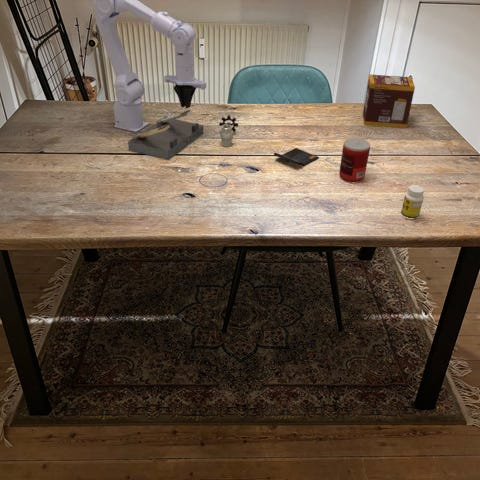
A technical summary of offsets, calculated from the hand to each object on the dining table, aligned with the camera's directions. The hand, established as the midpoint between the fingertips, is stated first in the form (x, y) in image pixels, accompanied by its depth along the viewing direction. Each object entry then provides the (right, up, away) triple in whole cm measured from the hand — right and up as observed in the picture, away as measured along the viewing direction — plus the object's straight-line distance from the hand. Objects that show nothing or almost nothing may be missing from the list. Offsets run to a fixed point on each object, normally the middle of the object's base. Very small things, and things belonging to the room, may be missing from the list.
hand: (185, 106), depth 176 cm
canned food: (+52, -25, -15) cm, 59 cm away
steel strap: (-4, -3, +4) cm, 6 cm away
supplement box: (+71, 0, +21) cm, 74 cm away
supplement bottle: (+64, -38, -32) cm, 81 cm away
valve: (+14, -10, +5) cm, 18 cm away
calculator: (+36, -19, -6) cm, 41 cm away
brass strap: (-10, -10, -6) cm, 15 cm away
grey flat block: (-6, -11, +2) cm, 13 cm away
